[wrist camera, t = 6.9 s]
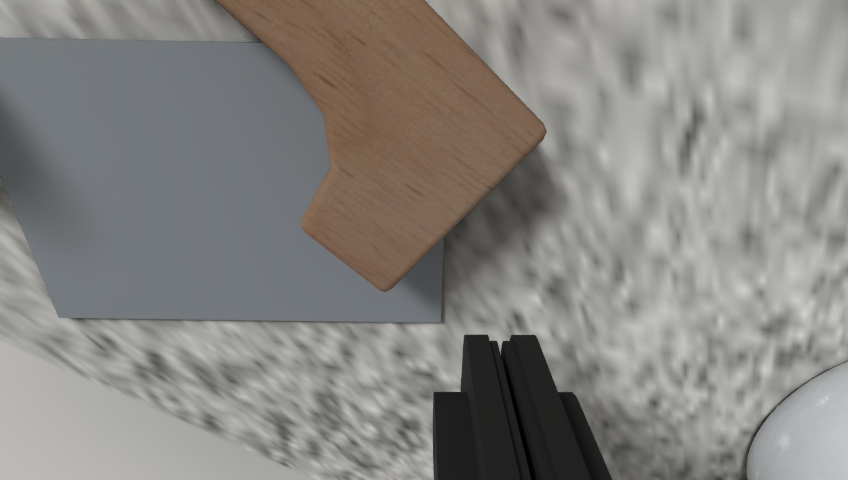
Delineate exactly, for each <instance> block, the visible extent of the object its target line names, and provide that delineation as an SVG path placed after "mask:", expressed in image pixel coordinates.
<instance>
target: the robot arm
mask: <svg viewBox="0 0 848 480" xmlns="http://www.w3.org/2000/svg"><path fill="white" fill-rule="evenodd" d="M433 463H434V480H612V478H611V476H610V473H609V471H608V469H607V466H606V464H605V462H604V459H603V457H602V455H601V452H600V450H599V448H598V446H597V443H596V441H595V439H594V436H593V434H592V432H591V429H590V427H589V425H588V422H587V420H586V418H585V415H584V413H583V411H582V408H581V406H580V404H579V401H578V399H577V398H576V396H575V395H574V394H573V393H572V392H558V391H557V389H556V386H555V384H554V381H553V378H552V376H551V373H550V370H549V368H548V365H547V363H546V360H545V357H544V355H543V352H542V350H541V347H540V344H539V342H538V339H537V337H536V336H535V335H511V337H510V341H503V343H502V349H501V355H500V351H499V347H498V343H497V341H489V337H488V335H464V344H463V361H462V378H461V392H434V398H433Z"/></svg>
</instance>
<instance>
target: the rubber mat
mask: <svg viewBox="0 0 848 480" xmlns="http://www.w3.org/2000/svg"><path fill="white" fill-rule="evenodd" d="M329 169H330V161H329V153H328V145H327V138H326V130H325V123H324V115H323V113H322V112H321V110H320V109H319V108H318V106H317V105H316V103H315V102H314V100H313V99H312V98H311V96H310V95H309V93H308V92H307V91H306V89H305V88H304V86H303V85H302V83H301V82H300V81H299V79H298V78H297V76H296V75H295V73H294V72H293V71H292V69H291V68H290V66H289V65H287V64H286V63H285V62H284V61H283V60H282V59H281V58H280V57H278V56H277V55H276V54H275V53H274V52H273V51H272V50H271V49H269V48H268V47H267V46H266V45H265V44H264V43H249V42H197V41H145V40H92V39H40V38H0V176H1V179H2V181H3V184H4V186H5V189H6V191H7V193H8V196H9V198H10V201H11V203H12V206H13V208H14V210H15V213H16V215H17V218H18V220H19V223H20V225H21V227H22V230H23V232H24V235H25V237H26V239H27V242H28V244H29V247H30V249H31V252H32V254H33V256H34V259H35V261H36V264H37V266H38V269H39V271H40V273H41V276H42V278H43V281H44V283H45V285H46V288H47V290H48V293H49V295H50V298H51V300H52V302H53V305H54V307H55V310H56V312H57V315H58V317H59V318H110V319H187V320H263V321H340V322H417V323H441V305H442V281H443V257H444V238H443V239H442V240H441V241H440V242H439V243H438V244H437V245H436V246H435V247H434V248H433V249H432V250H431V251H430V252H429V253H428V254H427V255H426V256H425V257H424V258H423V259H422V260H421V261H420V262H419V263H418V264H416V265H415V266H414V267H413V268H412V269H411V270H410V271H409V272H408V273H407V274H406V275H405V276H404V277H403V278H402V279H401V280H400V281H399V282H398V283H397V284H396V285H395V286H394V287H393V288H392V289H391V290H389V291H387V292H383V291H380V290H378V289H377V288H376V287H375V286H373V285H372V284H371V283H369V282H368V281H367V280H366V279H364V278H363V277H362V276H360V275H359V274H358V273H356V272H355V271H354V270H353V269H351V268H350V267H349V266H347V265H346V264H345V263H344V262H342V261H341V260H340V259H338V258H337V257H336V256H335V255H333V254H332V253H331V252H329V251H328V250H327V249H326V248H324V247H323V246H322V245H320V244H319V243H318V242H317V241H315V240H314V239H313V238H311V237H310V236H309V235H307V234H306V233H305V232H304V230H303V229H302V228H301V222H302V217H303V215H304V214H305V212H306V210H307V208H308V206H309V205H310V203H311V201H312V199H313V197H314V196H315V194H316V192H317V190H318V188H319V187H320V185H321V183H322V181H323V179H324V178H325V176H326V174H327V172H328V170H329Z"/></svg>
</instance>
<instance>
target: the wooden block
mask: <svg viewBox="0 0 848 480" xmlns="http://www.w3.org/2000/svg"><path fill="white" fill-rule="evenodd" d="M215 1H217V2H218V3H219V4H220V5H221V6H222V7H223V8H224V9H226V10H227V11H228V12H229V13H230V14H231V15H232V16H233V17H235V18H236V19H237V20H238V21H239V22H240V23H241V24H242V25H244V26H245V27H246V28H247V29H248V30H249V31H250V32H251V33H253V34H254V35H255V36H256V37H257V38H258V39H259V40H260V41H262V42H263V43H264V44H265V45H266V46H267V47H268V48H269V49H271V50H272V51H273V52H274V53H275V54H276V55H277V56H278V57H280V58H281V59H282V60H283V61H284V62H285V63H286V64H287V65H289V66H290V68H291V69H292V71H293V72H294V73H295V75H296V76H297V78H298V79H299V81H300V82H301V83H302V85H303V86H304V88H305V89H306V91H307V92H308V93H309V95H310V96H311V98H312V99H313V100H314V102H315V103H316V105H317V106H318V108H319V109H320V110H321V112H322V113H323V115H324V123H325V130H326V138H327V145H328V153H329V161H330V169H329V170H328V172H327V174H326V176H325V178H324V179H323V181H322V183H321V185H320V187H319V188H318V190H317V192H316V194H315V196H314V197H313V199H312V201H311V203H310V205H309V206H308V208H307V210H306V212H305V214H304V215H303V217H302V222H301V228H302V229H303V230H304V232H305V233H306V234H307V235H309V236H310V237H311V238H313V239H314V240H315V241H317V242H318V243H319V244H320V245H322V246H323V247H324V248H326V249H327V250H328V251H329V252H331V253H332V254H333V255H335V256H336V257H337V258H338V259H340V260H341V261H342V262H344V263H345V264H346V265H347V266H349V267H350V268H351V269H353V270H354V271H355V272H356V273H358V274H359V275H360V276H362V277H363V278H364V279H366V280H367V281H368V282H369V283H371V284H372V285H373V286H375V287H376V288H377V289H378V290H380V291H383V292H387V291H389V290H391V289H392V288H393V287H394V286H395V285H396V284H397V283H398V282H399V281H400V280H401V279H402V278H403V277H404V276H405V275H406V274H407V273H408V272H409V271H410V270H411V269H412V268H413V267H414V266H415V265H416V264H418V263H419V262H420V261H421V260H422V259H423V258H424V257H425V256H426V255H427V254H428V253H429V252H430V251H431V250H432V249H433V248H434V247H435V246H436V245H437V244H438V243H439V242H440V241H441V240H442V239H443V238H444V237H445V236H446V235H447V234H448V233H449V232H450V231H451V230H452V229H453V228H454V227H455V226H456V225H457V224H458V223H459V222H460V221H461V220H462V219H463V218H464V217H465V216H466V215H467V214H468V213H469V212H470V211H471V210H472V209H473V208H474V207H475V206H476V205H477V204H478V203H479V202H480V201H481V200H482V199H483V198H484V197H485V196H486V195H487V194H489V193H490V192H491V191H492V190H493V189H494V188H495V187H496V186H497V185H498V184H499V183H500V182H501V181H502V180H503V179H504V178H505V177H506V176H507V175H508V174H509V173H510V172H511V171H512V170H513V169H514V168H515V167H516V166H517V165H518V164H519V163H520V162H521V161H522V160H523V159H524V158H525V157H526V156H527V155H528V154H529V153H530V152H531V151H532V150H533V149H534V148H535V147H536V146H537V145H538V144H539V143H540V142H541V141H542V140H543V139H544V136H545V134H546V129H545V126H544V123H543V122H542V121H541V120H540V119H539V118H538V117H537V116H536V115H535V114H534V113H533V112H532V111H531V110H530V109H529V108H528V107H527V106H526V105H525V104H524V103H523V102H522V101H521V100H520V99H519V98H518V97H517V96H516V94H515V93H514V92H513V91H512V90H511V89H510V88H509V87H508V86H507V85H506V84H505V83H504V82H503V81H502V80H501V79H500V78H499V77H498V76H497V75H496V74H495V73H494V72H493V71H492V70H491V69H490V68H489V67H488V65H487V64H486V63H485V62H484V61H483V60H482V59H481V58H480V57H479V56H478V55H477V54H476V53H475V52H474V51H473V50H472V49H471V48H470V47H469V46H468V45H467V44H466V43H465V42H464V41H463V40H462V39H461V38H460V36H459V35H458V34H457V33H456V32H455V31H454V30H453V29H452V28H451V27H450V26H449V25H448V24H447V23H446V22H445V21H444V20H443V19H442V18H441V17H440V16H439V15H438V14H437V13H436V12H435V11H434V9H433V8H432V7H431V6H430V5H429V4H428V3H427V2H426V1H425V0H215Z"/></svg>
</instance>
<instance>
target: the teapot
mask: <svg viewBox="0 0 848 480" xmlns="http://www.w3.org/2000/svg"><path fill="white" fill-rule="evenodd" d="M747 480H848V362H845V363H843V364H840V365H838V366H836V367H834V368H832V369H830V370H828V371H826V372H824V373H822V374H821V375H819V376H817V377H815V378H814V379H812V380H810V381H809V382H807V383H806V384H804V385H803V386H801V387H800V388H799V389H797V390H796V391H795V392H794V393H792V394H791V395H790V396H789V397H787V398H786V399H785V400H784V401H783V402H782V403H781V404H780V405H779V406H778V407H777V408H776V409H775V410H774V411H773V412H772V413H771V414H770V416H769V417H768V418H767V419H766V421H765V422H764V423H763V425H762V426H761V428H760V429H759V431H758V432H757V434H756V436H755V438H754V440H753V442H752V444H751V447H750V450H749V453H748V457H747Z"/></svg>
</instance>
